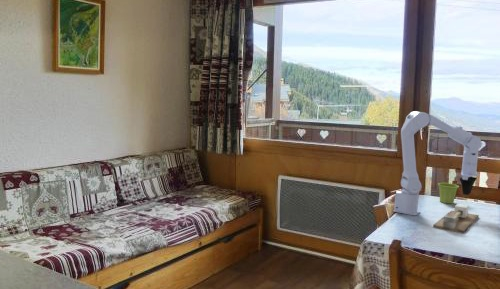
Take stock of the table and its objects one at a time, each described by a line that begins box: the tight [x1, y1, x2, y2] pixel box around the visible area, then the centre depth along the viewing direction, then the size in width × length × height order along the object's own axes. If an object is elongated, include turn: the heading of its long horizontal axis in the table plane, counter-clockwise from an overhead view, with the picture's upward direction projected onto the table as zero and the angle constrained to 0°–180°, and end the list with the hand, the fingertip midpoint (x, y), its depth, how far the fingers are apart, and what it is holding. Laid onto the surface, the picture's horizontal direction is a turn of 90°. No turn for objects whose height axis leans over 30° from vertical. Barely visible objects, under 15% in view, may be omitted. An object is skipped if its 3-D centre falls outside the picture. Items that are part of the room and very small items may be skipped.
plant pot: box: [437, 182, 460, 205], centre depth 225 cm, size 9×9×9 cm
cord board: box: [432, 210, 479, 234], centre depth 190 cm, size 11×30×5 cm, turn 144°
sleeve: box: [453, 203, 470, 218], centre depth 196 cm, size 4×5×4 cm
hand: (466, 193), depth 202 cm, fingers open, 3 cm apart
